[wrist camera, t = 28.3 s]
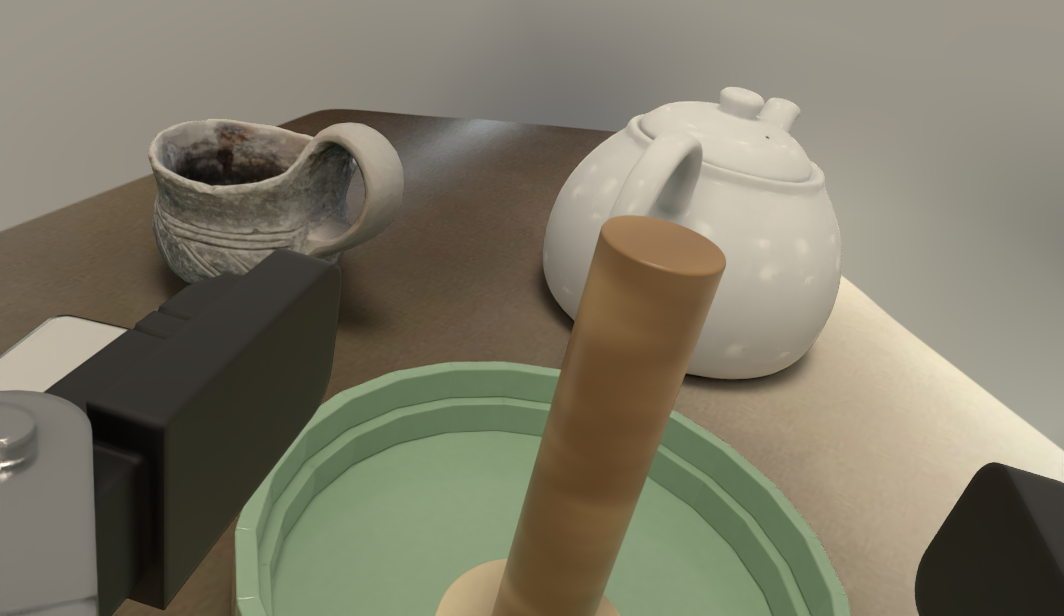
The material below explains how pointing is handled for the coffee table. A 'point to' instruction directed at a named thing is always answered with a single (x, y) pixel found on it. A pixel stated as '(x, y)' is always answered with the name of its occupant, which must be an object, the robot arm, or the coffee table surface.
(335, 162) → the mug
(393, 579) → the pan
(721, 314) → the teapot
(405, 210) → the coffee table surface
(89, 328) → the smartphone
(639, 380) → the brush
